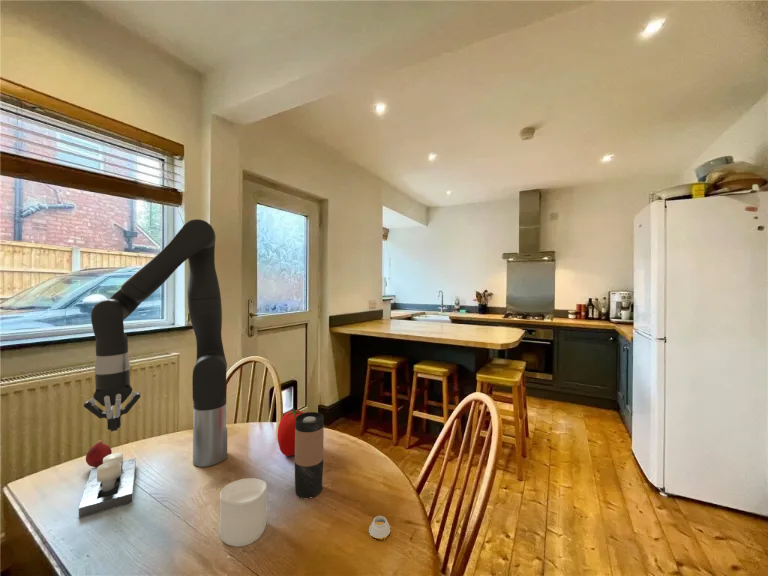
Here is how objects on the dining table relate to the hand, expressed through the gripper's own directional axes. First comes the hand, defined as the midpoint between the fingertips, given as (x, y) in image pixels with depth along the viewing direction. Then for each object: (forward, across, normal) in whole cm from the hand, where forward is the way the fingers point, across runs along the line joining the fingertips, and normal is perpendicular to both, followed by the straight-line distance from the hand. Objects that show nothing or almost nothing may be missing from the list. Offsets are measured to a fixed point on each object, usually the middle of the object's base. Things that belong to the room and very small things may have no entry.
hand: (114, 429), depth 93 cm
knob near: (+11, +1, +12) cm, 16 cm away
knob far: (+13, +1, 0) cm, 13 cm away
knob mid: (+14, +1, +6) cm, 15 cm away
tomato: (+15, -47, +15) cm, 52 cm away
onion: (+14, +5, -9) cm, 17 cm away
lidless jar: (+16, -51, +59) cm, 80 cm away
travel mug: (+15, -43, +36) cm, 58 cm away
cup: (+15, -25, +42) cm, 51 cm away
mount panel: (+14, +1, +6) cm, 15 cm away
